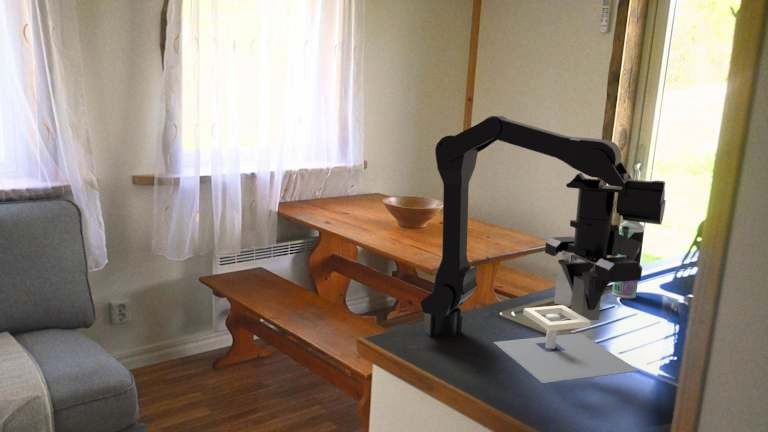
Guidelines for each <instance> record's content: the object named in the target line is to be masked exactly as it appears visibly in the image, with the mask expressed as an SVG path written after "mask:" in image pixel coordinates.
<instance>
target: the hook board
mask: <svg viewBox="0 0 768 432" xmlns="http://www.w3.org/2000/svg"><path fill="white" fill-rule="evenodd" d="M545 318H546V319H548V320H549V321H551V322H555V321H561V319H562V318H561V315H560V314H559V313H558V314H548V315H545ZM492 343H493V344H494V345H496V346H497V348H499V349H500V350H502V351H503V352H504V353H506V354H507V356H509V357H510V358H511V359H513V360H514V361H515V362H516V363H517V364H518V365H520V366H521V367H522V368H523V369H525V371H527V372H528V373H529V374H530V375H532V376H533V377H534V378H536V379H537V381H539V382H540V383H541V384H549V383H556V382H564V381H572V380H579V379H580V380H581V379H587V378H593V377H601V376H610V375H611V376H612V375H619V374H625V373H632V372H640V370H639V369H637V368H636V367H634V366H633V365H631V364H629V363H628V362H627V361H625V360H623V359H622V358H620V357H618V356H617V355H616V354H614V353H612V352H610V351H609V350H607V349H606V348H604V347H602V346H601V345H599V344H598V343H596V342H595V341H593V340H591V339H589V338H588V337H586V336H585V335H584V334H582V333H579V332H578V333H569V334H567V333H566V334H558V330H554V331H548V330H546V335H545V336H540V337H529V338H520V339H511V340H500V341H493V342H492ZM538 344H545V346H544V347H545V348H547V349H548V350H553V351H546V350H545V349H543V348H542V347H540V345H538ZM556 345H557V346H559V347H561V349H563V350H557V351H556V350H555V349H556V347H557V346H556ZM554 350H555V351H554Z"/></svg>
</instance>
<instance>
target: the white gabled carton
mask: <svg viewBox="0 0 768 432" xmlns="http://www.w3.org/2000/svg"><path fill="white" fill-rule="evenodd" d="M554 291H555V292H554V300H553V301H554V305H556V304H557V305H564V306H566V307H568V308H569V307H570V308H571V304H572V290H571V288H570V285H569V283H568V280H567V278H566V276H565V273H564V271H563V269H562V270H561V272H560V273H559V275H558V276H557V278H556V280H555V290H554Z"/></svg>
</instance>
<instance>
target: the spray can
mask: <svg viewBox="0 0 768 432" xmlns="http://www.w3.org/2000/svg"><path fill="white" fill-rule="evenodd" d="M644 228H645V226H644V225H643V224H641V222H634V221H626V220H625V221H624V222H621V223H620V224H619V234H620V235H623V236H626V237H628V238H631V239H633V240H636V241H638V242H641V245H640V247H639V250H638V252H637V255H636V257H635V259H634V260H633V259H631V258H629V256H626V255H620V254H618V256H615V257H626V258H628V259H631V260H633V261H636V262H638V263H639V264H640V265H641V260H642V259H641V258H642V249H643V242H644V232H645V229H644ZM638 282H639V280H636V281H623V282H612V283H613V284H612V295H613V296H615V297H618V298H622V299H635V298H636V297H637V292H638V291H637V290H638V284H639V283H638Z"/></svg>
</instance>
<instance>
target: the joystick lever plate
mask: <svg viewBox="0 0 768 432" xmlns="http://www.w3.org/2000/svg"><path fill="white" fill-rule="evenodd" d="M601 300H602V297H601V298H600V300H599V302H598V304H597V306H596V308H595V309H594V310H589V309H588V306H587V302H586V295H585V288H584V282H583V276H574V283H573V293H572V304H571V306H570V308H569V307H568V306H564V305H559V304H557V305H549V306H536V307H525V308H523V310H522V311H523V312H522V313H523V316H525V317H527V319H530V320H532V321H533V322H534V323H536V324H537V325H539V326H541V327H542V328H543V329H545V330H546V331H547V330H548V331H554V330H557V331H561V330H563V331H564V330H571V329H573V330H574V329H582V328H590V327H591V326H592V325H591V324H592V321H599V318H600V309H601ZM548 314H558V315H559V314H561V315H562V316H565V317H566V318H568V319H569V320H560V321H555V322H551V321H549V320H548V319H546V315H548ZM544 315H545V317H544Z"/></svg>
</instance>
